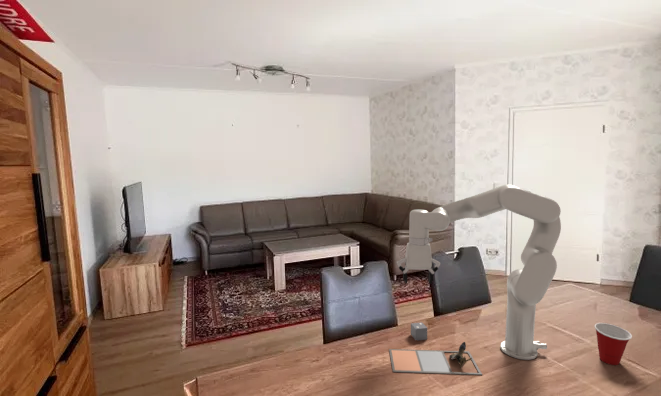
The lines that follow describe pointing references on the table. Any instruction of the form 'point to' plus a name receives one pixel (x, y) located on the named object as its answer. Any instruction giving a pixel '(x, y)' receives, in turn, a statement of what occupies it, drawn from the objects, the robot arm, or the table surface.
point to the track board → (424, 362)
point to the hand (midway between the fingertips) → (417, 282)
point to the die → (419, 331)
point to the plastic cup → (611, 342)
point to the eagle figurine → (460, 355)
